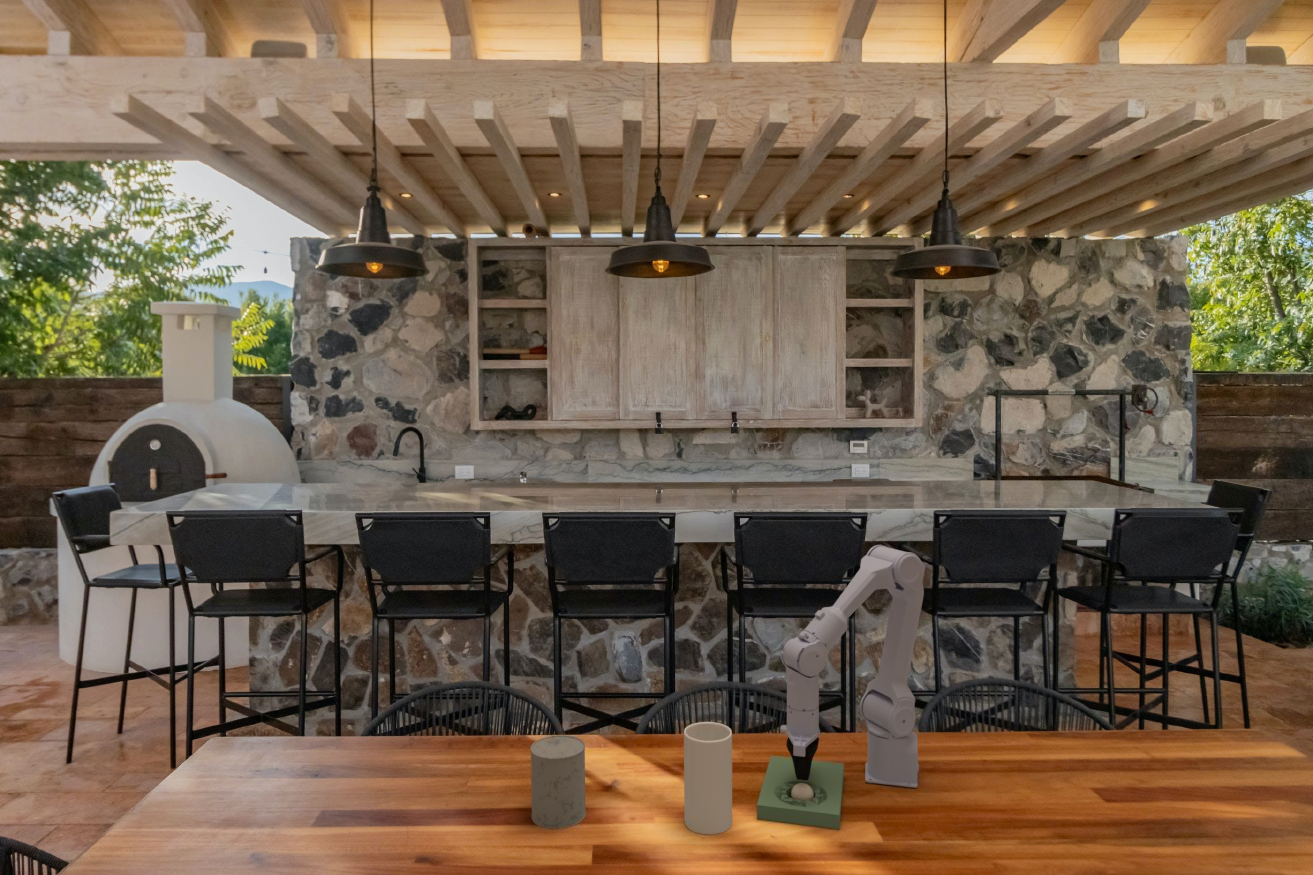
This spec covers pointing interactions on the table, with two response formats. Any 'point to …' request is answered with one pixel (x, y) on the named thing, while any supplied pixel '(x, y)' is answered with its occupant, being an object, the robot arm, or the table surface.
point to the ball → (802, 792)
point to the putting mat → (812, 812)
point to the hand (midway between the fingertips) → (802, 778)
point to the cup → (708, 777)
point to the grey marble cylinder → (558, 781)
